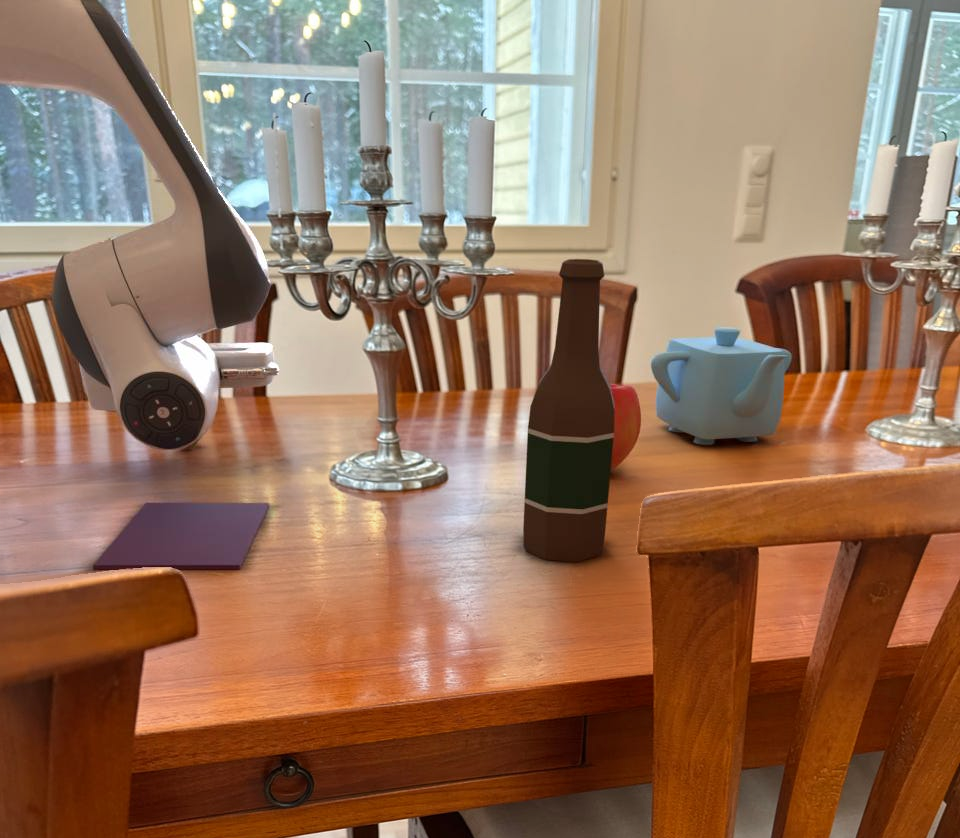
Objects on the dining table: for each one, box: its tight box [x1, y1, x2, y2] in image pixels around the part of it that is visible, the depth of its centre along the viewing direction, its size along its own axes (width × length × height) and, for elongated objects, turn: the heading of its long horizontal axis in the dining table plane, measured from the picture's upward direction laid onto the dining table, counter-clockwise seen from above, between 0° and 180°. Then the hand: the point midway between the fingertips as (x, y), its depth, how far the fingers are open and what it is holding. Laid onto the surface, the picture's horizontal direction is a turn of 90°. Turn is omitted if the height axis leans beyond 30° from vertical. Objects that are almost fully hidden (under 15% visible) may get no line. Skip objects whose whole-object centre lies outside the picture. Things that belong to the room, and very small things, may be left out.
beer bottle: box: [522, 258, 615, 563], centre depth 75 cm, size 8×8×24 cm
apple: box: [609, 382, 642, 472], centre depth 100 cm, size 10×10×10 cm
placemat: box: [92, 502, 270, 570], centre depth 81 cm, size 12×16×1 cm
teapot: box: [650, 326, 793, 446], centre depth 115 cm, size 18×16×14 cm
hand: (183, 352), depth 103 cm, fingers closed on vegetable, 4 cm apart
